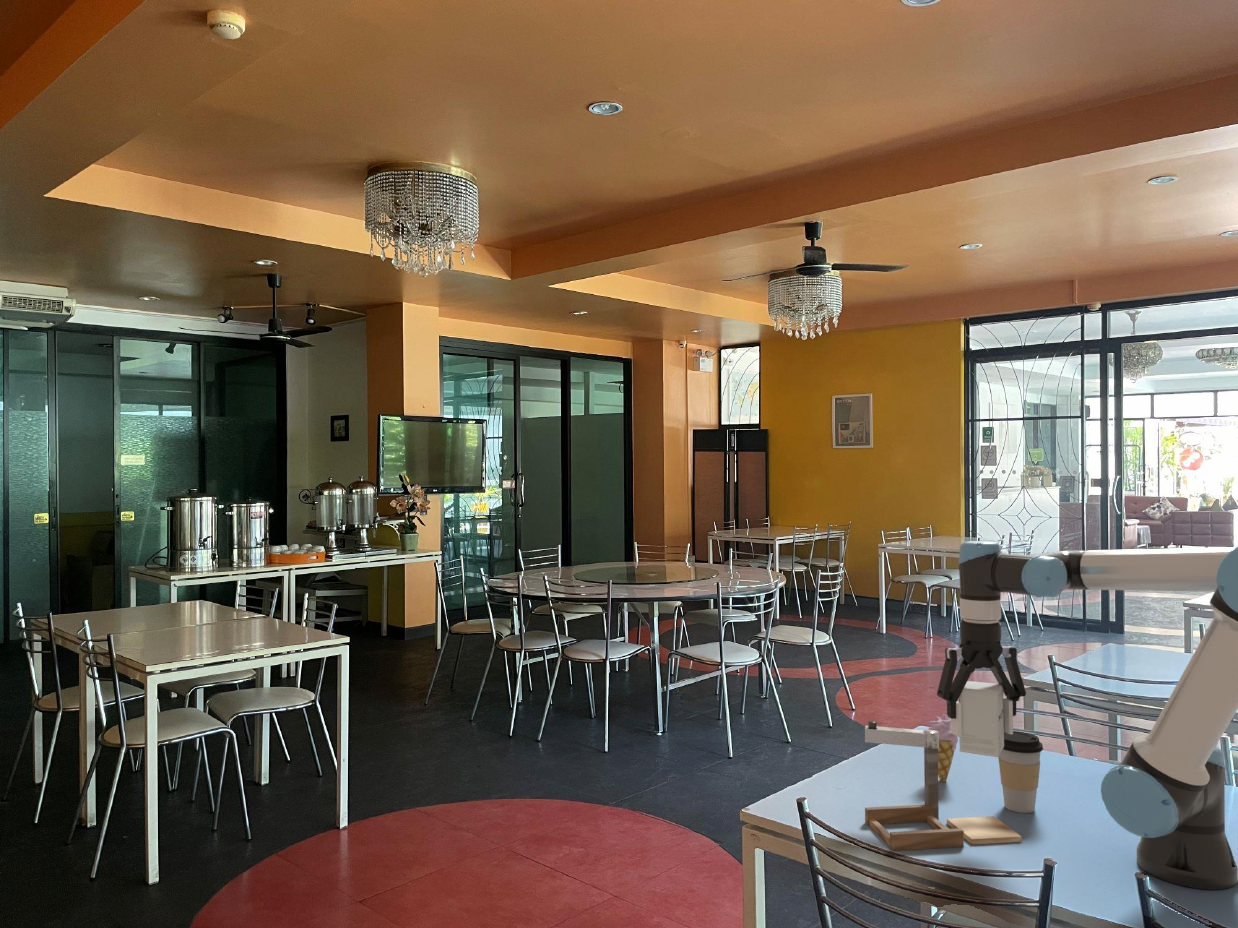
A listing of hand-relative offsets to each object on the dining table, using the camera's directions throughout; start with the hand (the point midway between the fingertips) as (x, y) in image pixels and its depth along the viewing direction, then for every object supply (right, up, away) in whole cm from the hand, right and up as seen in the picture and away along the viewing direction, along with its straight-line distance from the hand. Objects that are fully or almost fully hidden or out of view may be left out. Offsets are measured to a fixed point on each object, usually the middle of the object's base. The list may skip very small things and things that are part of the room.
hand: (982, 733), depth 174 cm
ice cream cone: (+3, -20, +29) cm, 35 cm away
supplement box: (0, -3, 0) cm, 3 cm away
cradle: (-13, -20, +1) cm, 24 cm away
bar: (-13, -5, +10) cm, 17 cm away
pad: (0, -19, 0) cm, 19 cm away
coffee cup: (+13, -20, +13) cm, 27 cm away
